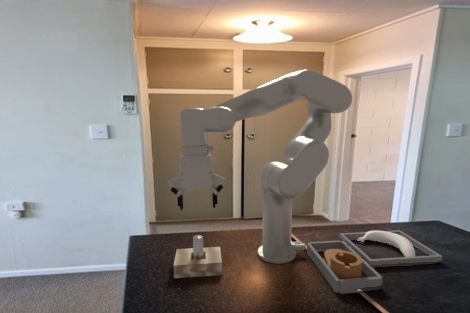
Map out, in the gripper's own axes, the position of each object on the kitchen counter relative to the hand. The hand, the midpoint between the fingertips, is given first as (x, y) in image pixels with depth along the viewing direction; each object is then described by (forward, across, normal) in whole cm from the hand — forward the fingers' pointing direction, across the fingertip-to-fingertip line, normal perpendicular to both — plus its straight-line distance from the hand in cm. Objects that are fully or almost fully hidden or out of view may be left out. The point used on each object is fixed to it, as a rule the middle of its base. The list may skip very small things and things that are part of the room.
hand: (198, 207), depth 86 cm
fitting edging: (+20, -42, +6) cm, 47 cm away
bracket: (+21, -42, +7) cm, 47 cm away
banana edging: (+21, -63, -3) cm, 67 cm away
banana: (+20, -63, -3) cm, 67 cm away
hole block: (+19, +1, 0) cm, 19 cm away
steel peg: (+19, +1, 0) cm, 19 cm away
